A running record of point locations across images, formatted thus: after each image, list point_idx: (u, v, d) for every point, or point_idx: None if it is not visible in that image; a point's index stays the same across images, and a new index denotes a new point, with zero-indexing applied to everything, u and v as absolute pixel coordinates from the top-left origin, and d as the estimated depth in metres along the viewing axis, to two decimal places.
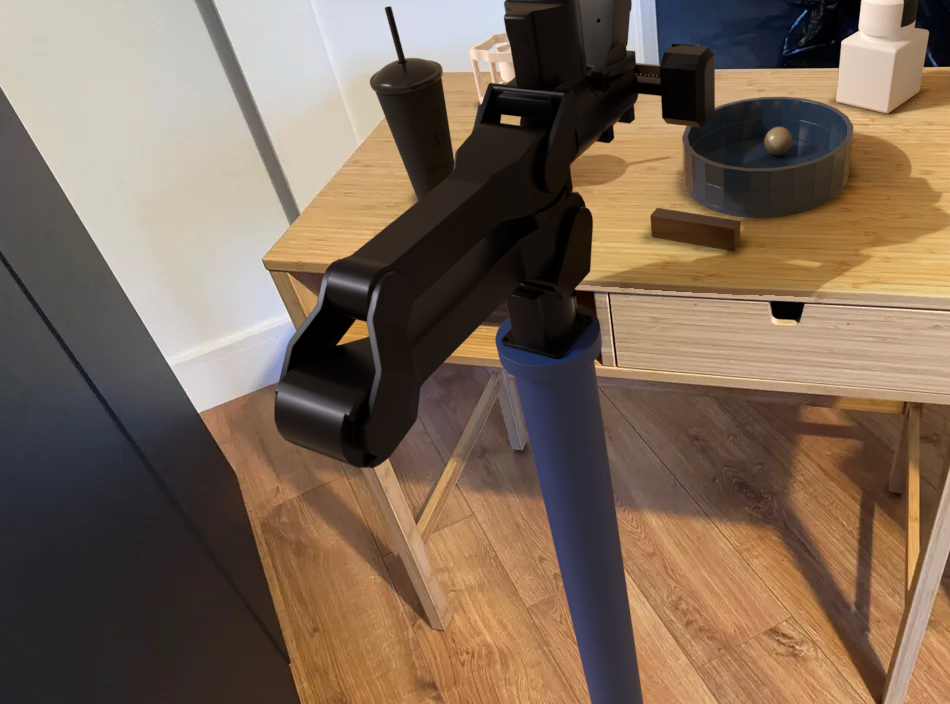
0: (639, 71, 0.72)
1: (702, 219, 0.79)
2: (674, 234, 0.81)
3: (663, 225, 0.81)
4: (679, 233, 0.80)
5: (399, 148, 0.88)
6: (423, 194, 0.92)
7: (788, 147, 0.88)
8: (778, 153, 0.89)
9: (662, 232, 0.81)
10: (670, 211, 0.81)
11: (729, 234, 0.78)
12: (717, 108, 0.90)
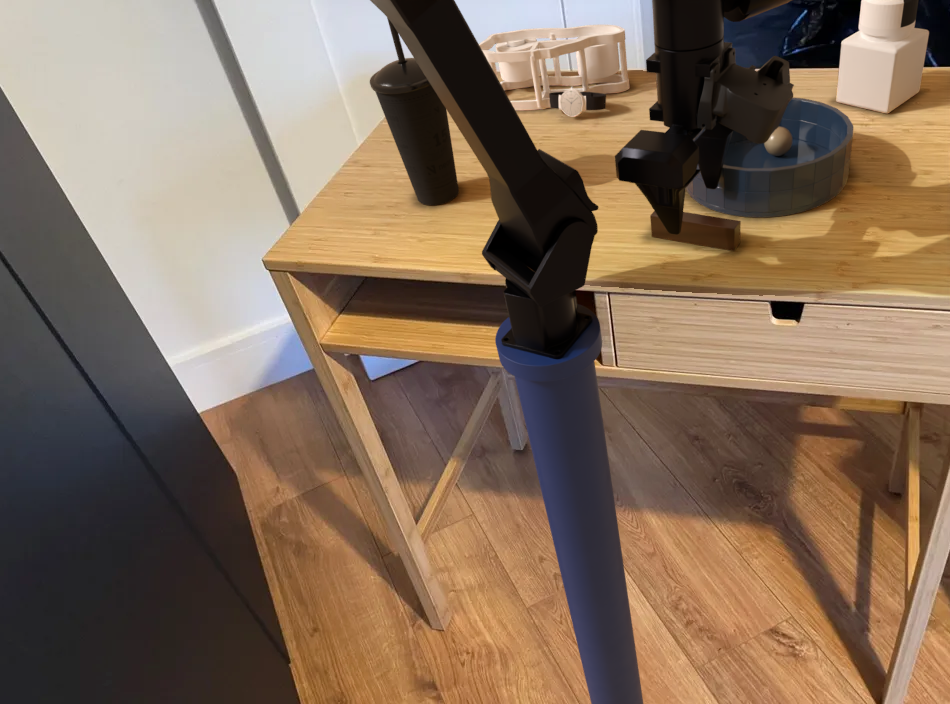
0: (691, 134, 0.70)
1: (702, 219, 0.79)
2: (674, 234, 0.81)
3: (663, 225, 0.81)
4: (679, 233, 0.80)
5: (399, 148, 0.88)
6: (423, 194, 0.92)
7: (788, 147, 0.88)
8: (778, 153, 0.89)
9: (662, 232, 0.81)
10: None
11: (729, 234, 0.78)
12: None
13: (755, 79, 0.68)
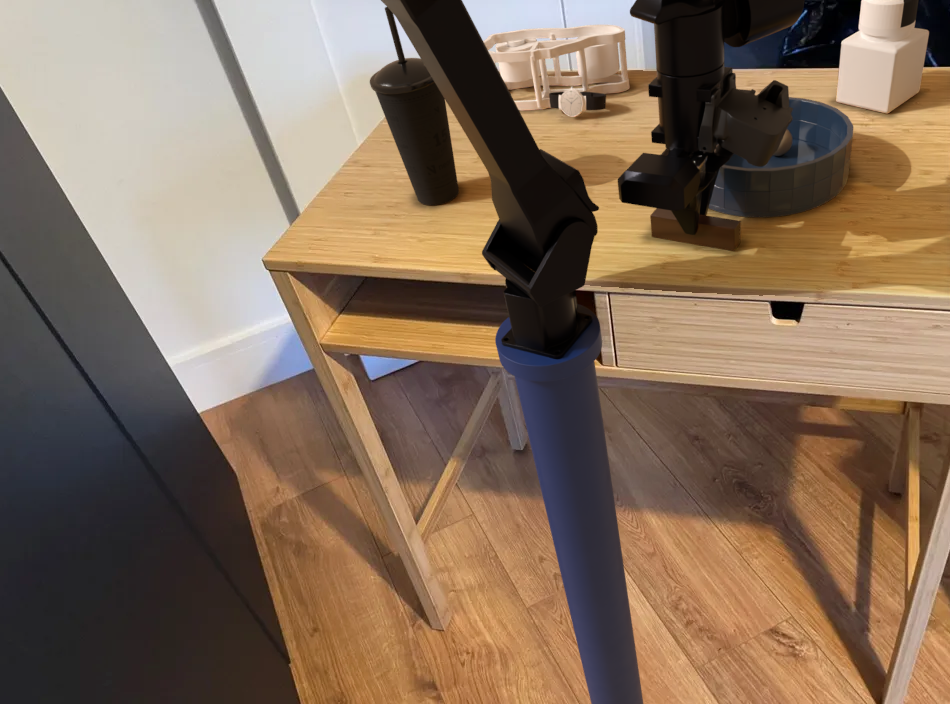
0: None
1: (702, 219, 0.79)
2: (674, 234, 0.81)
3: (663, 225, 0.81)
4: (679, 233, 0.80)
5: (399, 148, 0.88)
6: (423, 194, 0.92)
7: (788, 147, 0.88)
8: (778, 153, 0.89)
9: (662, 232, 0.81)
10: (670, 211, 0.81)
11: (729, 234, 0.78)
12: None
13: (755, 103, 0.70)
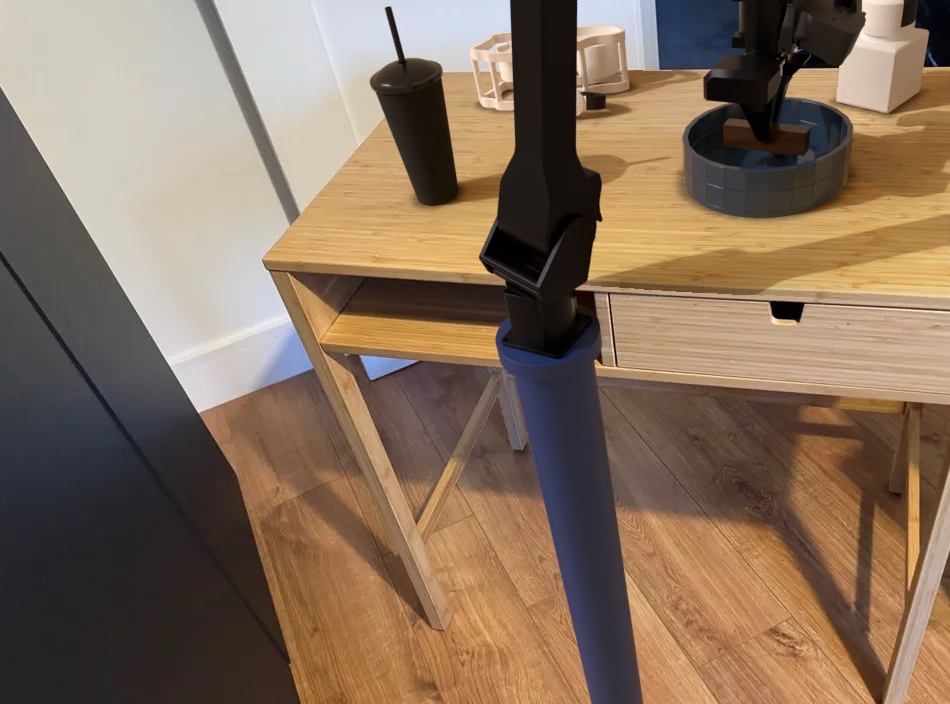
0: None
1: (773, 126, 0.84)
2: (746, 142, 0.86)
3: (735, 134, 0.86)
4: (751, 141, 0.85)
5: (399, 148, 0.88)
6: (423, 194, 0.92)
7: None
8: (778, 153, 0.89)
9: (734, 141, 0.86)
10: (742, 120, 0.86)
11: (800, 139, 0.82)
12: (717, 108, 0.90)
13: (832, 7, 0.75)
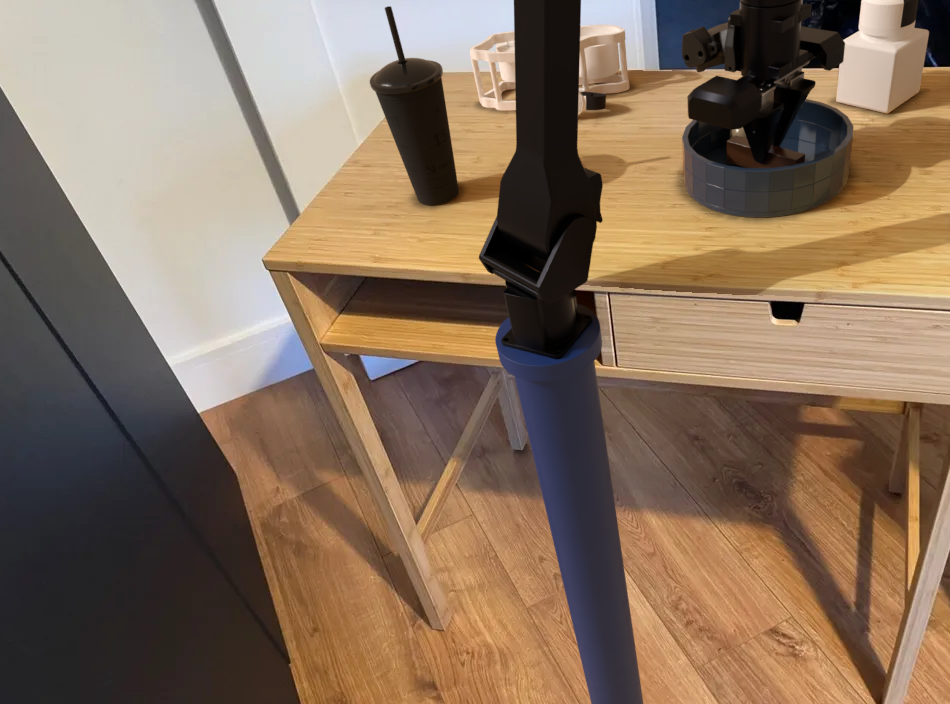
0: None
1: None
2: None
3: None
4: None
5: (399, 148, 0.88)
6: (423, 194, 0.92)
7: None
8: (731, 136, 0.91)
9: None
10: (784, 155, 0.84)
11: None
12: None
13: (716, 30, 0.81)
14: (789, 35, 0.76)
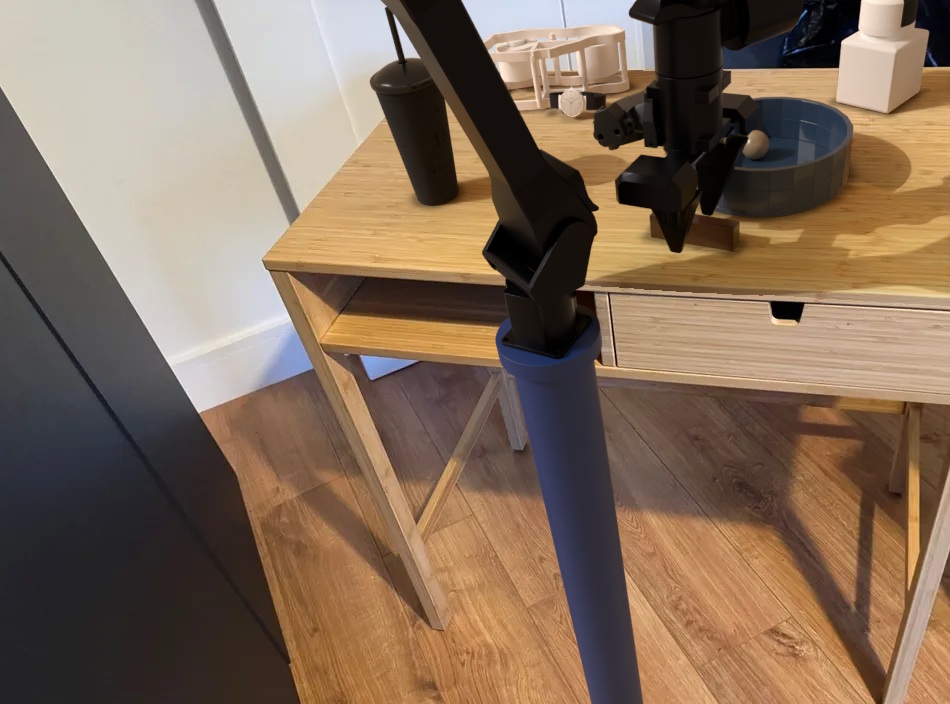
0: None
1: None
2: None
3: None
4: None
5: (399, 148, 0.88)
6: (423, 194, 0.92)
7: (748, 145, 0.88)
8: None
9: None
10: (718, 224, 0.78)
11: None
12: None
13: (628, 105, 0.73)
14: (715, 105, 0.69)
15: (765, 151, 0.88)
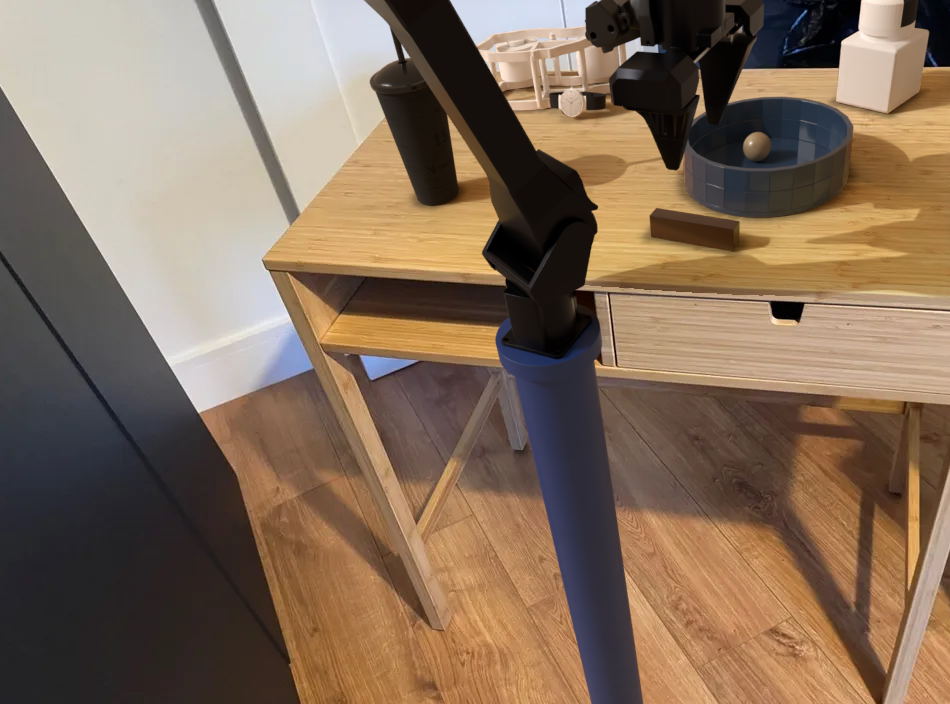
0: None
1: (686, 216, 0.79)
2: None
3: None
4: None
5: (399, 148, 0.88)
6: (423, 194, 0.92)
7: (751, 150, 0.88)
8: (744, 152, 0.89)
9: None
10: (718, 224, 0.78)
11: None
12: None
13: (622, 0, 0.67)
14: None
15: (766, 156, 0.89)
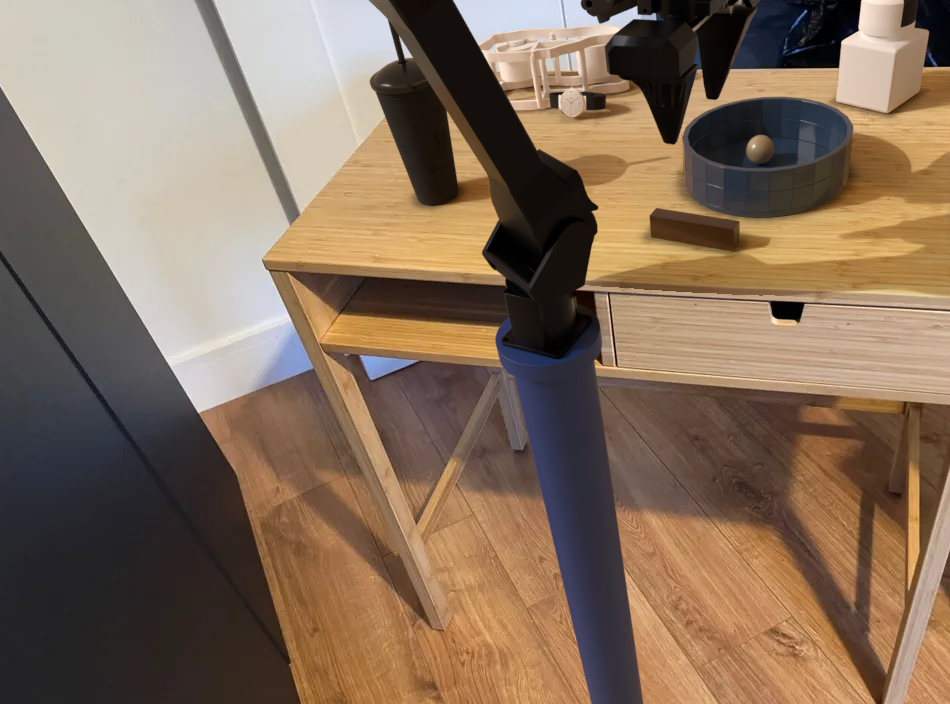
0: None
1: (686, 216, 0.79)
2: None
3: None
4: None
5: (399, 148, 0.88)
6: (423, 194, 0.92)
7: (754, 158, 0.88)
8: (746, 153, 0.88)
9: None
10: (718, 224, 0.78)
11: None
12: (717, 108, 0.90)
13: None
14: None
15: None
